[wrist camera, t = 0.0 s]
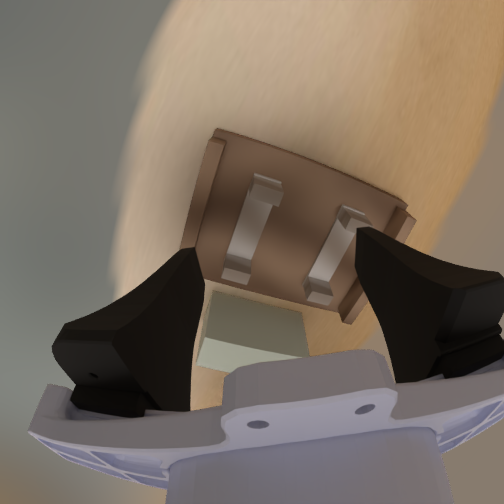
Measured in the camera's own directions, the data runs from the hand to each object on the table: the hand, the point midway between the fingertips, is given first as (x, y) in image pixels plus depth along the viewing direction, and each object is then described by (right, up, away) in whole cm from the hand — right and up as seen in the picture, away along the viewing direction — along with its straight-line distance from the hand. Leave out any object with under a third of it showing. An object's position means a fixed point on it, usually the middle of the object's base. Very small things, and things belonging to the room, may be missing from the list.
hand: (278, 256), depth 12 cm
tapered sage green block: (-1, -6, +16) cm, 17 cm away
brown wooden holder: (+2, +2, +11) cm, 11 cm away
